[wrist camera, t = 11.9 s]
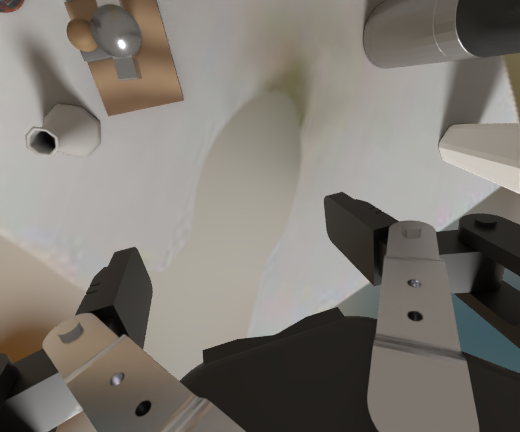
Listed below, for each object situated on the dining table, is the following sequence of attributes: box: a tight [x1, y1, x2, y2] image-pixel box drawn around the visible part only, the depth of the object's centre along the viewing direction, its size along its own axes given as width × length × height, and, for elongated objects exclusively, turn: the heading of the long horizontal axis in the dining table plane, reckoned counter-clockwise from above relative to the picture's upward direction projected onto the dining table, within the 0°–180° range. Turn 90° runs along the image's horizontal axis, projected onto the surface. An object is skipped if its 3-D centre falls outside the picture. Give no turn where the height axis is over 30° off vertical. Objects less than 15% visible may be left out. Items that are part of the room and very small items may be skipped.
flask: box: [26, 103, 101, 157], centre depth 36 cm, size 7×7×10 cm
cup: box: [439, 123, 520, 194], centre depth 48 cm, size 11×10×17 cm
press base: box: [64, 0, 184, 116], centre depth 36 cm, size 13×10×7 cm
